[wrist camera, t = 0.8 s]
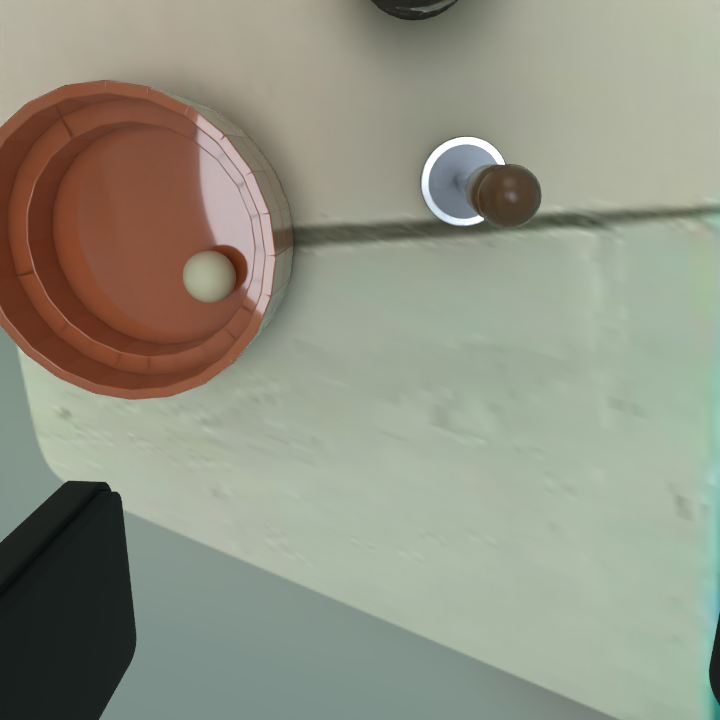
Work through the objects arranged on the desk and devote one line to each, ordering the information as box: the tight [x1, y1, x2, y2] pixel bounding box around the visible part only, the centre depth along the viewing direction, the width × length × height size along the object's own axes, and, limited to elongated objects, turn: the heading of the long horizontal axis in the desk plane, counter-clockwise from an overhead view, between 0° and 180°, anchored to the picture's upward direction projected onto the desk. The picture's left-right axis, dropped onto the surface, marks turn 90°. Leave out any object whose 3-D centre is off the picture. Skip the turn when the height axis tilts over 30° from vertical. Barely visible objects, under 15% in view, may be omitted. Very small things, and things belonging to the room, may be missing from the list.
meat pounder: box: [420, 136, 542, 229], centre depth 28 cm, size 5×5×20 cm
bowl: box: [0, 80, 294, 400], centre depth 37 cm, size 16×16×6 cm
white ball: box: [183, 251, 236, 303], centre depth 38 cm, size 3×3×3 cm
